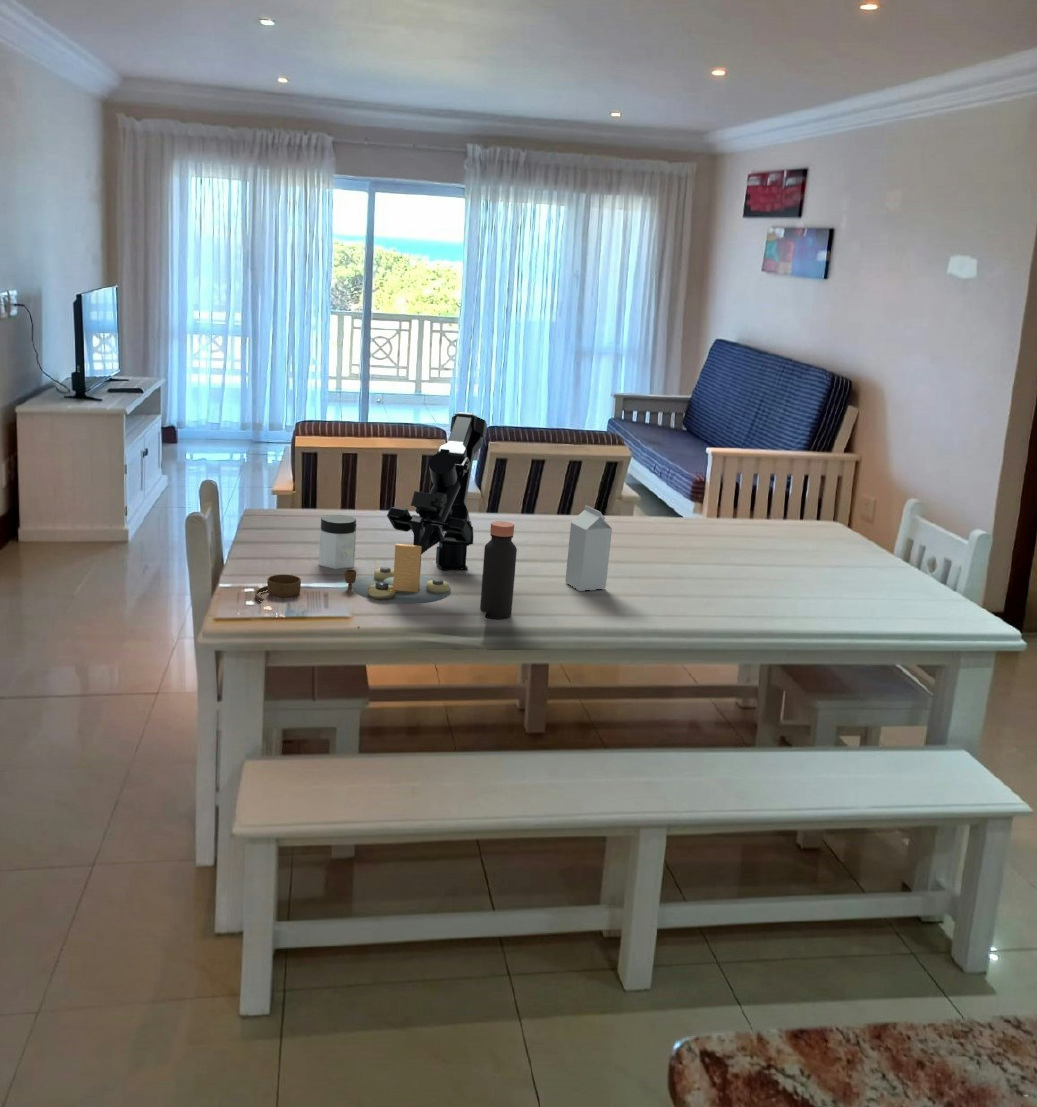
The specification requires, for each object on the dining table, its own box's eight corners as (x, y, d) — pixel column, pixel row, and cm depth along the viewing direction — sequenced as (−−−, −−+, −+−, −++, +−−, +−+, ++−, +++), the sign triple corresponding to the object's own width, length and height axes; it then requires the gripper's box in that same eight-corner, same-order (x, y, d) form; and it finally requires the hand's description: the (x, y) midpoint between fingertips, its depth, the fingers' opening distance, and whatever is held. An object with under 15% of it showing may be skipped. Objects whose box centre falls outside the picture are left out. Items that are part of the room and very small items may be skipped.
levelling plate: (436, 577, 255) (437, 563, 254) (462, 607, 235) (463, 592, 234) (343, 579, 248) (343, 565, 247) (361, 610, 228) (361, 594, 227)
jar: (326, 574, 250) (328, 524, 247) (312, 565, 256) (313, 515, 253) (361, 571, 255) (363, 521, 252) (347, 562, 261) (349, 513, 258)
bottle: (489, 621, 228) (497, 528, 222) (473, 611, 233) (480, 520, 228) (517, 617, 231) (524, 526, 226) (500, 608, 237) (508, 519, 231)
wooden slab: (365, 598, 231) (367, 545, 228) (370, 589, 237) (372, 538, 234) (416, 602, 231) (419, 550, 228) (420, 594, 236) (423, 543, 233)
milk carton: (579, 592, 253) (587, 512, 248) (564, 583, 259) (572, 505, 254) (605, 590, 256) (614, 511, 251) (590, 581, 262) (598, 504, 257)
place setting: (268, 585, 241) (269, 560, 239) (357, 594, 240) (358, 569, 238) (243, 610, 224) (243, 583, 222) (339, 620, 223) (340, 592, 221)
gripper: (393, 470, 239) (365, 528, 232) (469, 483, 232) (443, 543, 225) (408, 499, 248) (381, 556, 241) (482, 512, 241) (457, 571, 234)
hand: (414, 556), depth 235 cm, fingers closed
